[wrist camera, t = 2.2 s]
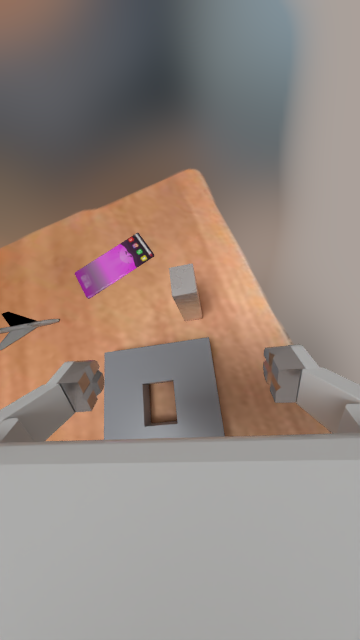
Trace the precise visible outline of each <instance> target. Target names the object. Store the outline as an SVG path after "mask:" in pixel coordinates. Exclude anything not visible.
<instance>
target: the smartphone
mask: <svg viewBox="0 0 360 640" xmlns="http://www.w3.org/2000/svg"><path fill="white" fill-rule="evenodd" d="M152 257H154V254H153V252H152V251H151V250H150V248H149V247H148V246H147V244H146V243H145V242H144V240H143V239H142V237H141V236H140V235H139V233H136V234H135V235H133V236H132V237H130V238H128V239H127V240H125V241H124V242H122V243H121V244H119V245H117V246H116V247H114V248H113V249H111V250H110V251H108V252H106V253H105V254H103V255H102V256H100V257H99V258H97V259H95V260H94V261H92V262H91V263H89V264H88V265H86V266H84V267H83V268H81V269H80V270H78V271H77V272H75V275H76V277H77V279H78V281H79V283H80V285H81V287H82V289H83V291H84V293H85V295H86V297H87V298H88V299H89V298H91V297H93V296H94V295H96V294H97V293H99V292H100V291H102V290H104V289H105V288H107V287H108V286H110V285H111V284H113V283H114V282H116V281H117V280H119V279H120V278H122V277H123V276H125V275H126V274H128V273H129V272H131V271H132V270H134V269H135V268H137V267H139V266H140V265H142V264H143V263H145V262H146V261H148V260H149V259H151V258H152Z"/></svg>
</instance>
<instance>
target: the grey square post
mask: <svg viewBox="0 0 360 640" xmlns="http://www.w3.org/2000/svg"><path fill="white" fill-rule="evenodd" d="M169 270H170V279H171V289H172V297H173V299H174V301H175V303H176V305H177V307H178V309H179V311H180V313H181V315H182V317H183V319H184V321H190V320H196V319H202V318H203V317H202V311H201V305H200V298H199V293H198V288H197V283H196V278H195V273H194V268H193V264H188V265H182V266H177V267H172V268H169Z"/></svg>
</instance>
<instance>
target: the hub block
mask: <svg viewBox="0 0 360 640" xmlns="http://www.w3.org/2000/svg"><path fill="white" fill-rule="evenodd" d="M171 381H174V391H175V402H176V412H177V421H170V422H160V423H151V411H150V394H149V384H155V383H163V382H171ZM189 437H225V434H224V428H223V422H222V416H221V410H220V403H219V397H218V391H217V385H216V379H215V372H214V366H213V360H212V354H211V348H210V341H209V337H208V338H201V339H194V340H188V341H181V342H174V343H167V344H161V345H154V346H147V347H141V348H134V349H127V350H121V351H114V352H107V353H105V383H104V440H117V439H153V438H189Z"/></svg>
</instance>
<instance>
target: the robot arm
mask: <svg viewBox="0 0 360 640" xmlns="http://www.w3.org/2000/svg"><path fill="white" fill-rule="evenodd" d="M264 356H265V358H266V360H265V361H264V363H263V370H264V376H265V380H266V382H267V383H268V384H269V385H270V392H271V394H272V396H273V399H274V401H275V403H291V402H297V404H298V405H299V406H300V407H301V408H303V409H304V410H305V411H306V412H307V413H309V414H310V415H311V416H312V417H313V418H315V419H316V420H317V421H318V422H319V423H321V424H322V425H323V426H324V427H326V428H327V429H328V430H329V431H330V432H332V433H333V434H300V435H264V436H226V437H189V438H153V439H117V440H80V441H45V440H47V439H48V438H49V437H50V436H51V435H52V434H53V433H54V432H55V431H56V430H57V429H58V428H59V427H60V426H62V425H63V424H64V423H65V422H66V421H67V420H68V419H69V418H70V417H71V416H72V415H73V414H74V413H75V412H84V411H92V409H93V408H94V406H95V404H96V402H97V400H98V399H97V395H98V394H100V393H101V392H102V390H103V388H104V376H103V374H102V373H101V372H100V371H99V370H98V369H99V367H100V366H99V364H98V362H97V361H95V360H86V361H70V362H65V363H64V364H63V365H62V366H61V367H60V369H59V370H58V371H57V372H56V373H55V374H54V376H53V377H52V378H51V379H50V380H49V381H48V383H47V384H46V385H42V386H40V387H38V388H37V389H35V390H33V391H32V392H30V393H28V394H27V395H25V396H23V397H21V398H20V399H18V400H16V401H15V402H13V403H11V404H10V405H8V406H6V407H5V408H3V409H1V410H0V640H360V385H359V384H357V383H355V382H353V381H351V380H349V379H347V378H345V377H343V376H341V375H339V374H336V373H334V372H332V371H330V370H328V369H326V368H320V367H319V366H318V364H317V363H316V362H315V361H314V359H313V358H312V357H311V356H310V354H309V353H308V352H307V351H306V350H305V348H304V347H303V346H302V345H300V344H297V345H288V346H280V347H267V348H265V350H264Z"/></svg>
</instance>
